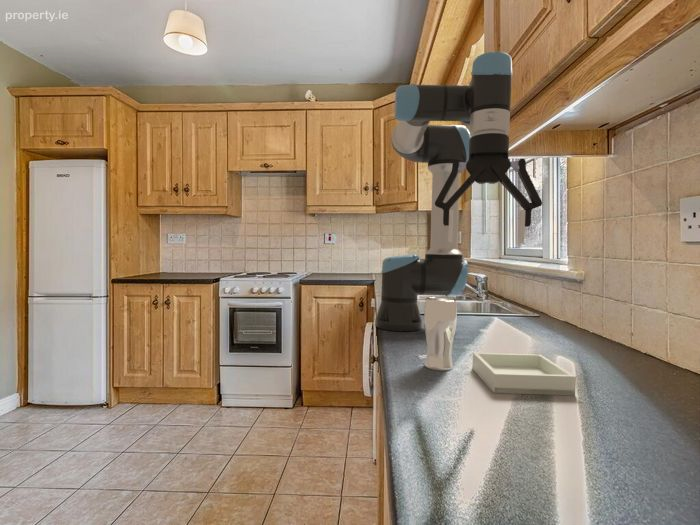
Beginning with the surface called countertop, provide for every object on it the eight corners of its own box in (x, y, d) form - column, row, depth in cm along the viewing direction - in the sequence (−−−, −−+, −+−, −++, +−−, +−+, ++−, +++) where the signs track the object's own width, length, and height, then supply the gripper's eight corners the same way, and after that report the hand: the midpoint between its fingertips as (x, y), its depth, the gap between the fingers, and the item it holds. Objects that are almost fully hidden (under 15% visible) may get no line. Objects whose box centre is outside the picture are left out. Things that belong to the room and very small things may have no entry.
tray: (472, 368, 89) (472, 352, 89) (539, 370, 89) (540, 354, 88) (494, 393, 74) (494, 374, 74) (575, 395, 74) (576, 376, 74)
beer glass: (455, 363, 92) (457, 297, 92) (454, 372, 86) (457, 302, 85) (424, 360, 94) (426, 296, 93) (421, 369, 87) (423, 300, 87)
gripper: (424, 134, 81) (420, 241, 82) (562, 128, 74) (556, 244, 76) (427, 143, 88) (423, 241, 89) (553, 138, 82) (548, 244, 83)
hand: (484, 243), depth 82 cm, fingers open, 13 cm apart
